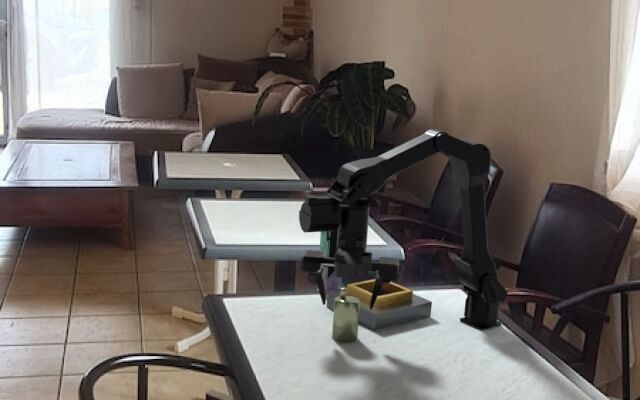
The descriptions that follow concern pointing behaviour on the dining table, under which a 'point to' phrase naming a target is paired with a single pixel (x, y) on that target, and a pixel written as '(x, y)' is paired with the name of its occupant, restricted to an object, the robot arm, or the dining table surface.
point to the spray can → (328, 247)
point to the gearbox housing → (385, 304)
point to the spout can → (345, 318)
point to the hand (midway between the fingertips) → (347, 306)
